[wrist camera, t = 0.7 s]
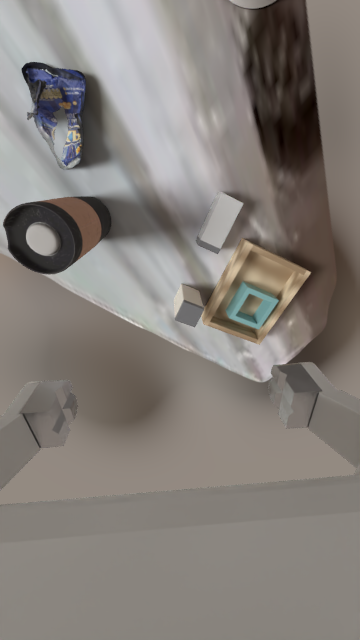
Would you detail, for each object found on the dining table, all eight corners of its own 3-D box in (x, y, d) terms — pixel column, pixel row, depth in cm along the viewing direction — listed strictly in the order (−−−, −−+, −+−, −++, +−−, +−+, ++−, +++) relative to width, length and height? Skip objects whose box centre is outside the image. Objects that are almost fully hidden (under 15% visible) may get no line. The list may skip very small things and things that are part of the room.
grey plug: (217, 191, 42) (222, 192, 38) (237, 202, 43) (243, 203, 39) (195, 240, 46) (198, 245, 42) (214, 248, 47) (217, 254, 43)
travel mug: (121, 222, 44) (91, 247, 26) (92, 249, 46) (46, 288, 28) (89, 184, 40) (31, 184, 23) (60, 214, 43) (-15, 235, 25)
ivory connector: (181, 283, 50) (184, 301, 42) (198, 290, 51) (204, 309, 43) (173, 299, 52) (175, 320, 44) (190, 306, 53) (194, 327, 45)
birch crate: (242, 237, 46) (248, 242, 42) (300, 265, 49) (311, 272, 45) (200, 314, 54) (203, 324, 50) (253, 334, 57) (259, 344, 53)
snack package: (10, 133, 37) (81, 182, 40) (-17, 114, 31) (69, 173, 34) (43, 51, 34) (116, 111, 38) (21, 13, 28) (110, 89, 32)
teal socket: (242, 280, 49) (247, 287, 46) (272, 293, 51) (278, 300, 48) (225, 310, 53) (228, 318, 50) (253, 321, 54) (258, 329, 51)
